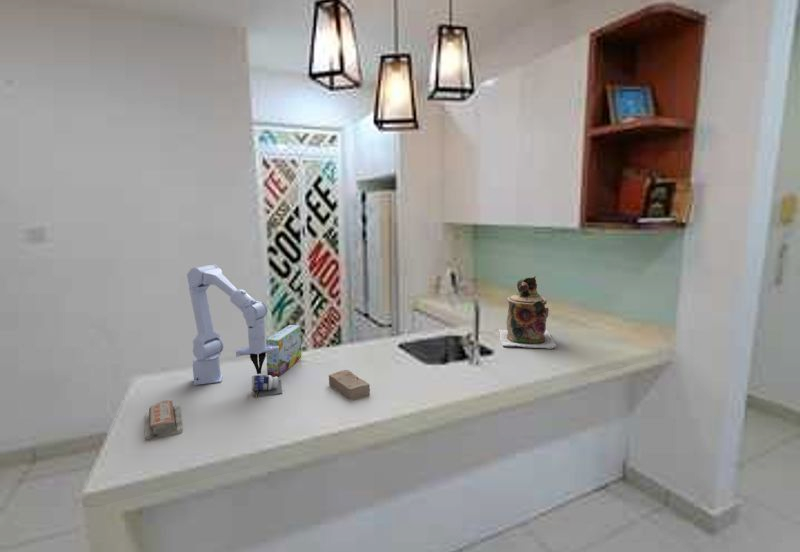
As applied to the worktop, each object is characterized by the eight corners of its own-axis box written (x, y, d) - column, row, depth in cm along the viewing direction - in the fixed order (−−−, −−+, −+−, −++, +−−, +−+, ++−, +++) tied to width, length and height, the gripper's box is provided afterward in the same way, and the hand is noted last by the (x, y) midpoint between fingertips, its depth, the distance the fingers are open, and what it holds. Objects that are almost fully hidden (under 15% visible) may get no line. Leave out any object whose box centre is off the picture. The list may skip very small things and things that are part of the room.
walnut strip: (254, 397, 157) (254, 395, 157) (254, 383, 169) (254, 381, 169) (257, 397, 158) (257, 394, 158) (257, 383, 169) (257, 381, 169)
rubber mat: (258, 396, 158) (258, 395, 158) (258, 383, 169) (258, 382, 169) (282, 393, 160) (282, 392, 160) (280, 380, 171) (280, 379, 171)
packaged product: (181, 419, 133) (143, 427, 129) (183, 434, 134) (145, 443, 130) (178, 395, 149) (144, 402, 144) (180, 409, 150) (146, 416, 145)
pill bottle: (252, 372, 162) (277, 371, 164) (251, 383, 164) (277, 382, 167) (251, 382, 157) (278, 381, 160) (251, 393, 160) (277, 392, 162)
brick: (371, 395, 160) (371, 382, 159) (351, 401, 155) (350, 388, 154) (347, 380, 173) (347, 368, 172) (328, 385, 168) (327, 373, 167)
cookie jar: (497, 332, 231) (500, 270, 226) (547, 333, 228) (551, 271, 222) (501, 348, 207) (504, 279, 202) (557, 350, 204) (561, 280, 198)
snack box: (280, 377, 175) (278, 340, 172) (266, 376, 176) (264, 339, 173) (302, 358, 195) (301, 324, 192) (290, 357, 196) (288, 323, 193)
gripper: (234, 342, 154) (237, 379, 157) (278, 338, 158) (280, 374, 161) (235, 336, 161) (238, 372, 163) (277, 332, 165) (279, 367, 167)
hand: (259, 372), depth 162 cm, fingers closed
